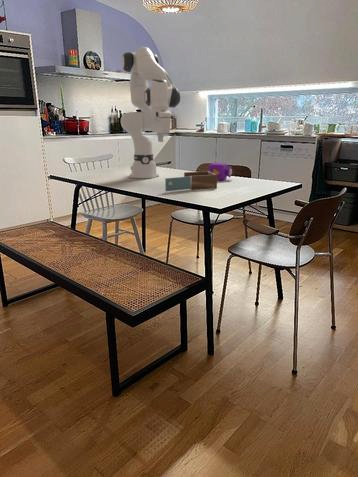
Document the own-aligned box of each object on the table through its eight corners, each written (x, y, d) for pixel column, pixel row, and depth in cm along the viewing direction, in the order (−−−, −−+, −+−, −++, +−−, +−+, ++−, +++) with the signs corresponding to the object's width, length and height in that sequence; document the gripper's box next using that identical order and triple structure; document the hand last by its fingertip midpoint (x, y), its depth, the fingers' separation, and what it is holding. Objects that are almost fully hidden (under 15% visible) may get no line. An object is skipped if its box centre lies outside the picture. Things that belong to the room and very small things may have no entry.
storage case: (184, 185, 208) (184, 172, 206) (208, 183, 211) (208, 171, 209) (191, 189, 195) (191, 176, 193) (216, 187, 199) (217, 174, 196)
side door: (167, 191, 187) (166, 178, 185) (165, 191, 189) (165, 178, 187) (192, 189, 193) (192, 176, 191) (191, 188, 195) (191, 176, 193)
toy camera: (231, 181, 218) (232, 163, 215) (208, 180, 221) (208, 163, 218) (232, 178, 228) (233, 161, 225) (210, 177, 231) (210, 161, 228)
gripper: (148, 113, 196) (149, 140, 200) (160, 113, 178) (160, 143, 182) (159, 113, 198) (160, 140, 202) (172, 113, 180) (172, 142, 184)
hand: (160, 141), depth 192 cm, fingers closed
